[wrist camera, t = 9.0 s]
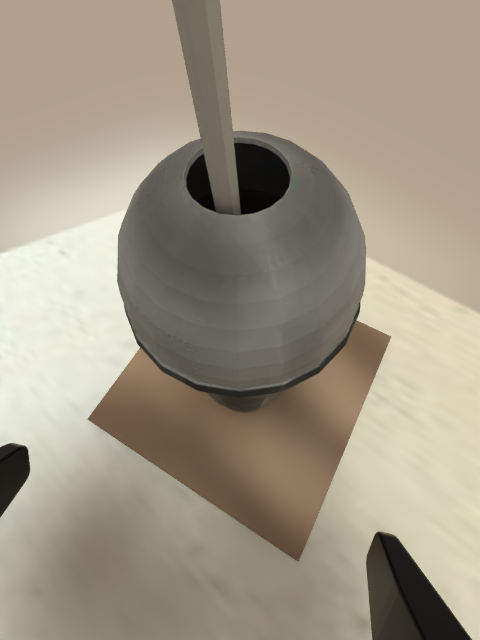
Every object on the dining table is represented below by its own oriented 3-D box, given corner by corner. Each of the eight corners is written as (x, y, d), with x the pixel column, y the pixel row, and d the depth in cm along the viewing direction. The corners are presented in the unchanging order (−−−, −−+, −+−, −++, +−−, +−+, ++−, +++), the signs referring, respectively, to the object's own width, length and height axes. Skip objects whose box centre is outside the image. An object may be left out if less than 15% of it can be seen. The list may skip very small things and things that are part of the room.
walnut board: (295, 556, 17) (298, 561, 16) (94, 421, 21) (87, 419, 20) (385, 342, 22) (391, 336, 21) (212, 260, 26) (210, 252, 25)
